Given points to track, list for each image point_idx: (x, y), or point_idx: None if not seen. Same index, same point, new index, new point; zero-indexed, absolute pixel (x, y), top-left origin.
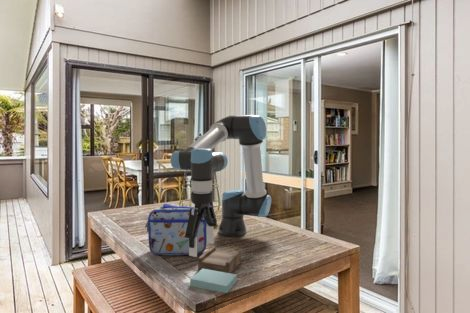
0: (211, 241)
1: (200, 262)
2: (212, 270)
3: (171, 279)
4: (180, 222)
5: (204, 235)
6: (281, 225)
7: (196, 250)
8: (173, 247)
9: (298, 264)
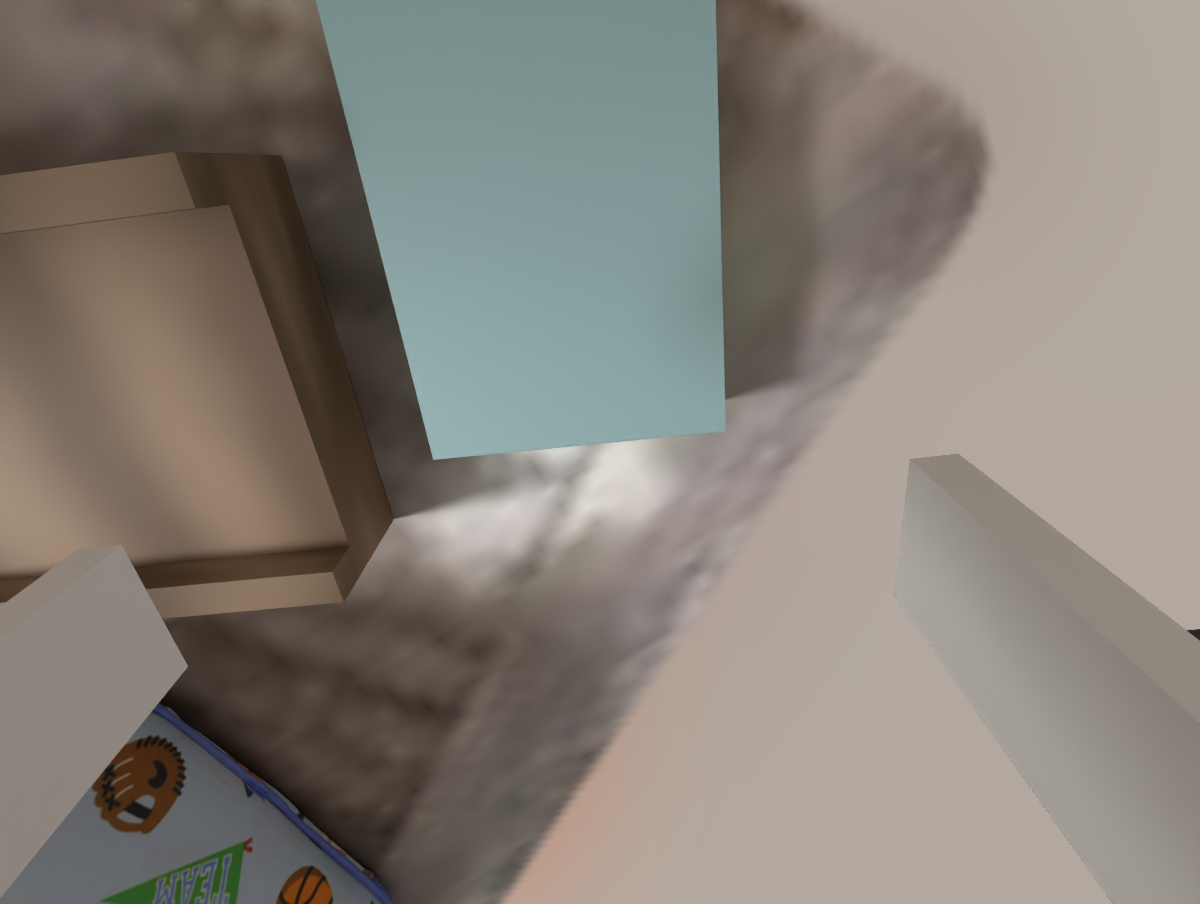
0: (102, 604)
1: (355, 544)
2: (407, 332)
3: (678, 600)
4: None
5: None
6: None
7: (1025, 530)
8: (281, 888)
9: None
